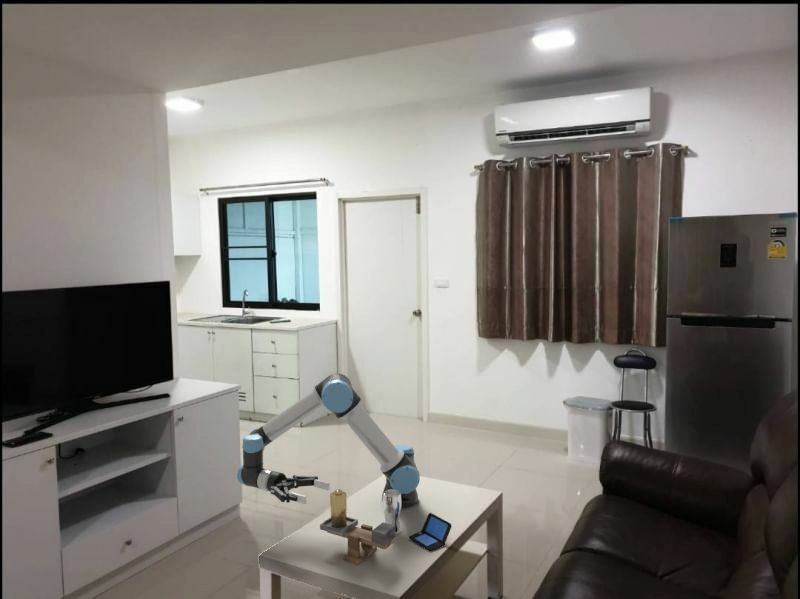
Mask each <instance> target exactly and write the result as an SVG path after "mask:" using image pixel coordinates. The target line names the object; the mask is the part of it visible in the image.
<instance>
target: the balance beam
mask: <svg viewBox="0 0 800 599" xmlns="http://www.w3.org/2000/svg"><path fill="white" fill-rule="evenodd" d="M358 525H359V520H358V519H356V518H353V517H350V516H347V525H346V526H344V527H341V528H335V527H332V526H331V516H330V517H329V518H327V519H326V520H324V521H323V522H322V523H320V524H319V530H320V531H325V532H327V533H328V534H332V535H334V536H338V537H341V538H344V539H348V535H349V534H353V535H357V536H360V544H361V543H365V544H368V545H372V546H375V547H377V549H378V548H379V549H382V550H387V549H388V548H389V547H390V546H392V544H394V543H395V538H396V535H395V526H394V525H390V524H387V523H385V522H381V523H380V524H379V525H378V526H376V527H375V528H373V530H372V531H369V530H365V529H362V528H361V527H358Z"/></svg>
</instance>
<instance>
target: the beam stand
mask: <svg viewBox="0 0 800 599" xmlns="http://www.w3.org/2000/svg"><path fill="white" fill-rule="evenodd" d="M360 528H362V529H365V530H369V531H372V530H374V528H373V526H371V525H368V524H366V523H362V524H361V525H360ZM377 549H378V547H375V546H372V545H368V544H365V543H361V542H360V536H357V535H353V534H349V535H348V538H347V553H346V555H344V556H343V561H345V562H348V563H352V564H355V565H359V564H361V562H363V561H364V560H366V558H368V557H369V556H371V555H372V553H373V552H375V551H376V550H377Z"/></svg>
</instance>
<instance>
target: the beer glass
mask: <svg viewBox="0 0 800 599" xmlns="http://www.w3.org/2000/svg"><path fill="white" fill-rule="evenodd" d="M383 491H384V490H383ZM383 491H382V494H383V502H382V509H383V516H384V523H387V524H390V525H394V526H395V536H396V535H398V534H400V533H401V527H400V526H401V525H400V518H401V513H402V508H401V492H400V491H399V490H395V489H389V490H386V491H384V492H383Z"/></svg>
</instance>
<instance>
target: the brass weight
mask: <svg viewBox="0 0 800 599" xmlns="http://www.w3.org/2000/svg"><path fill="white" fill-rule="evenodd" d="M329 502H330V517H331V526H332V527H335V528H341V527H344V526H346V525H347V517H348V516H347V514H348V513H347V492H345V491H344V490H343V491H342V489H335V490H334V491H333V492H331V493H330V500H329Z"/></svg>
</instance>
